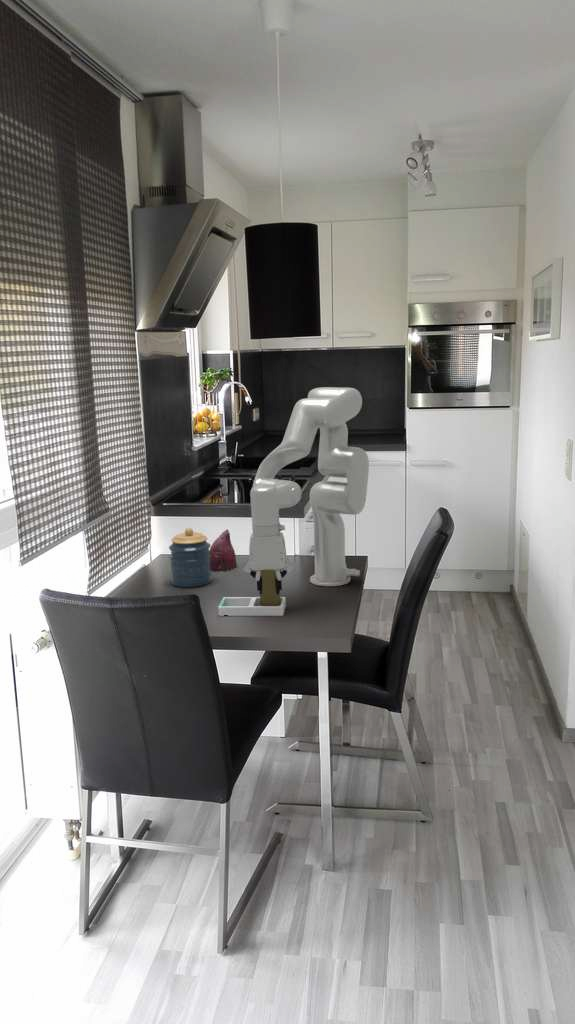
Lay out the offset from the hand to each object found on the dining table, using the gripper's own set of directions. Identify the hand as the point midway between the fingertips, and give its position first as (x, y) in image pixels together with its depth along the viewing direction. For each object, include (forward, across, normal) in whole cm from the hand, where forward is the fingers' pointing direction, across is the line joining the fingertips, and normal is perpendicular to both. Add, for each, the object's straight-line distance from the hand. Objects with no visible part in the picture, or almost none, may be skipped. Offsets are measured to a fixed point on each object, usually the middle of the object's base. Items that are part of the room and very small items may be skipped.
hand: (269, 592), depth 232 cm
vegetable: (+6, +21, -44) cm, 50 cm away
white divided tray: (+5, +5, +1) cm, 7 cm away
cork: (+4, 0, 0) cm, 4 cm away
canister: (+6, +28, -28) cm, 40 cm away
